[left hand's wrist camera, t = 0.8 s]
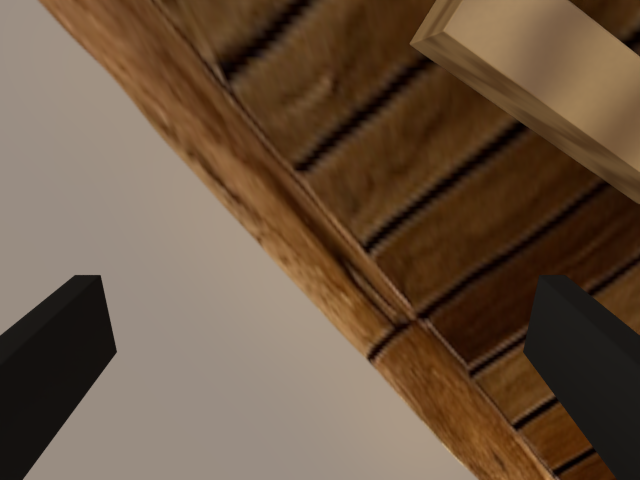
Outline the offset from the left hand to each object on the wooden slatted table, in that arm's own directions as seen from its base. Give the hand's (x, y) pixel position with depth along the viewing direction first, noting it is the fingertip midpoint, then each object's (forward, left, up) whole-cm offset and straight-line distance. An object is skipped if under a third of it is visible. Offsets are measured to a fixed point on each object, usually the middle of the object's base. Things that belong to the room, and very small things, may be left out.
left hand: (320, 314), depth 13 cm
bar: (-16, +9, -22) cm, 28 cm away
